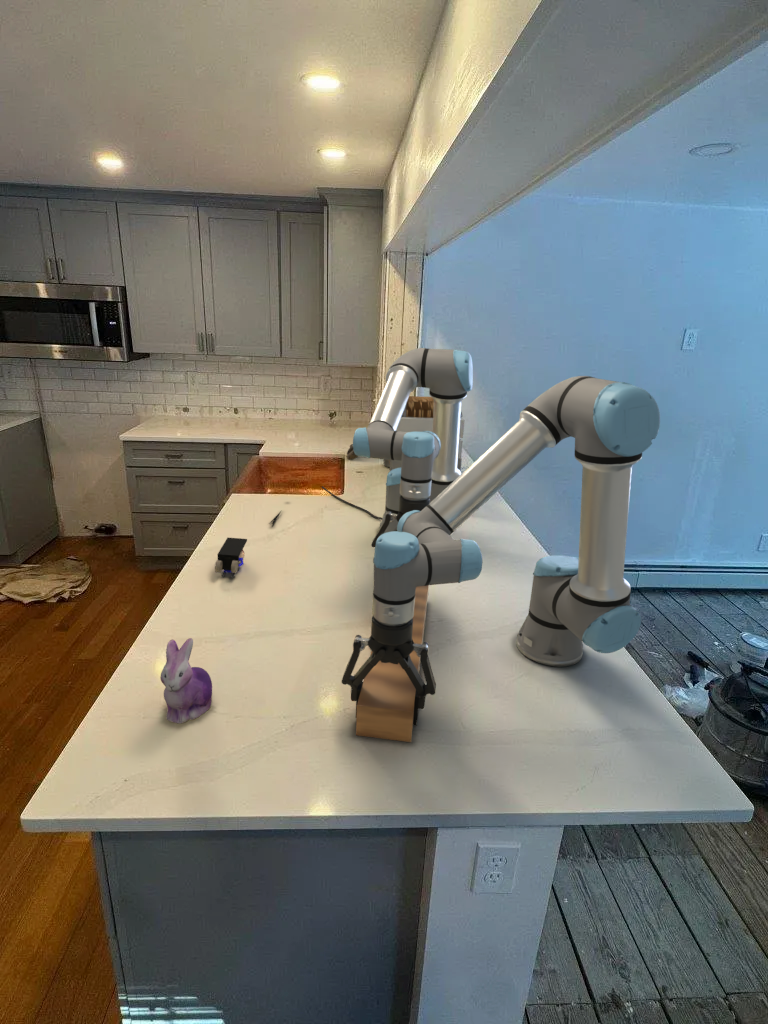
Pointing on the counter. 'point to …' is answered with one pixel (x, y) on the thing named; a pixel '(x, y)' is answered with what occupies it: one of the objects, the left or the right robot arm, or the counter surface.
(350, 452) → the fossil
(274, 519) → the feather
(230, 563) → the figurine character
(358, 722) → the thick board
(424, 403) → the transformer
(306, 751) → the counter surface
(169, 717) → the figurine
